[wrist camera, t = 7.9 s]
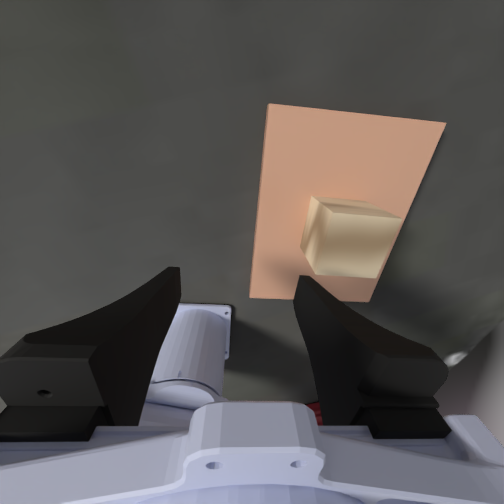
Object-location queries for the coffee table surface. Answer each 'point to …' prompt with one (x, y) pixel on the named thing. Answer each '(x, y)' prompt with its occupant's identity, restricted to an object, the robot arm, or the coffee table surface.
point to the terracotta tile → (330, 186)
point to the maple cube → (347, 237)
